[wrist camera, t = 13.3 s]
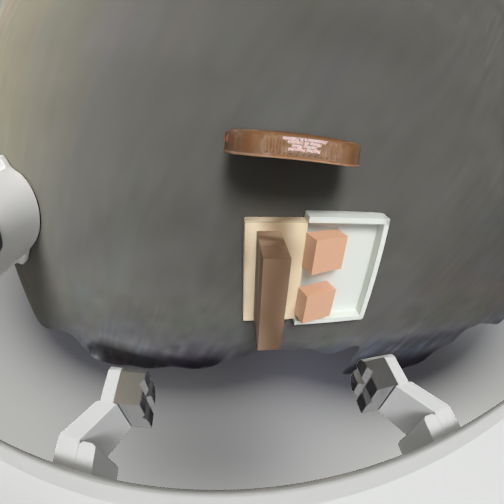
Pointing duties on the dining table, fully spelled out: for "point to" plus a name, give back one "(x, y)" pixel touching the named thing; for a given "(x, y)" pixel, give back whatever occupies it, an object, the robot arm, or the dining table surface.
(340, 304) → the tray
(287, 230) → the board
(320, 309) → the tile
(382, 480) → the robot arm
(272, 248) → the tall tan block
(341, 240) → the tile
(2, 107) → the dining table surface
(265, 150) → the tin
